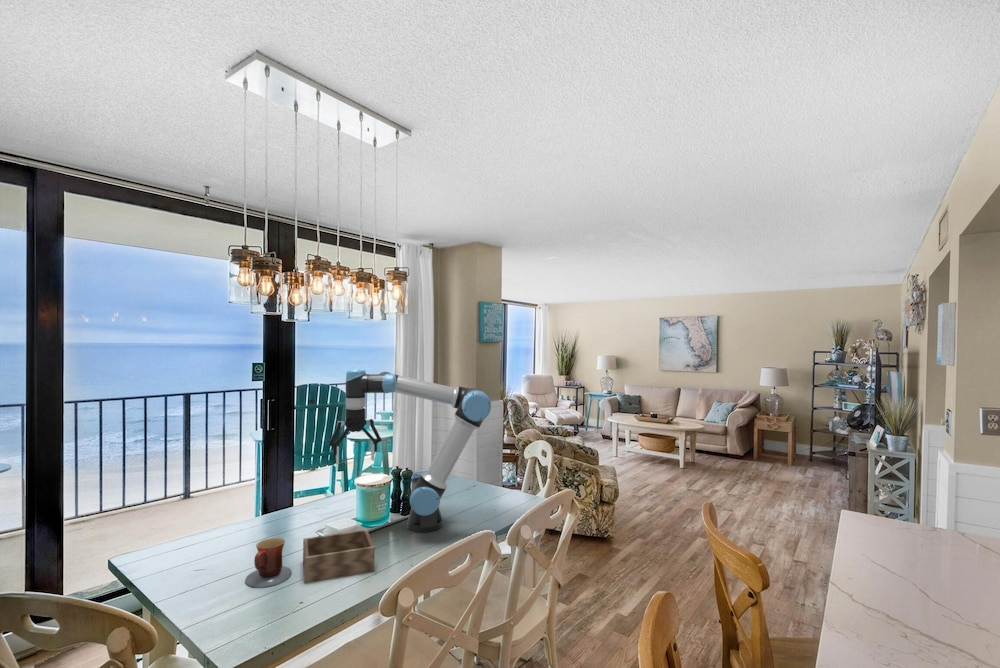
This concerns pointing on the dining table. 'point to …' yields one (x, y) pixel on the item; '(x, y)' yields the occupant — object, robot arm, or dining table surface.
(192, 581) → the dining table surface
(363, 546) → the box
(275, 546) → the mug
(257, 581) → the coaster
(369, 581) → the dining table surface
